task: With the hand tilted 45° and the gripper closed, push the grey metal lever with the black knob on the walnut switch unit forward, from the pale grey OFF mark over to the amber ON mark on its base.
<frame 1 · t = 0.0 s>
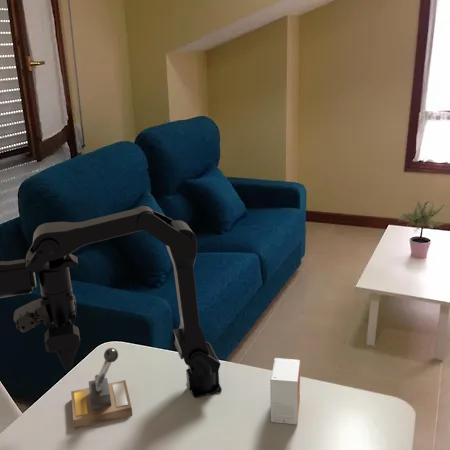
hand: (67, 356, 110), 15 cm above the table, tool pointing down, fingers open, 9 cm apart
small box: (285, 412, 114), on the table
switch unit: (101, 406, 118), on the table
lever: (105, 367, 115), point 10 cm above the table, hinge at -28.0°
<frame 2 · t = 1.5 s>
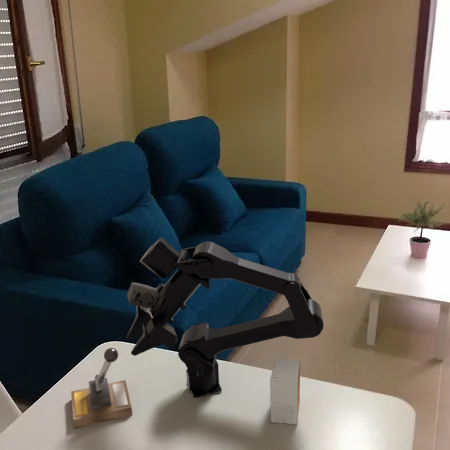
hand: (130, 346, 115), 14 cm above the table, tool tilted 45°, fingers open, 6 cm apart
nothing on the table moved.
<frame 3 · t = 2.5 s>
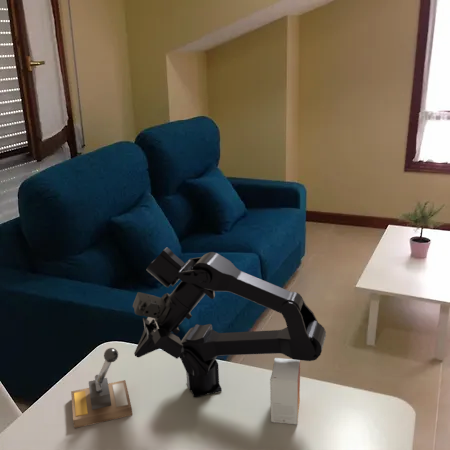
hand: (136, 355, 116), 11 cm above the table, tool tilted 45°, fingers closed
nothing on the table moved.
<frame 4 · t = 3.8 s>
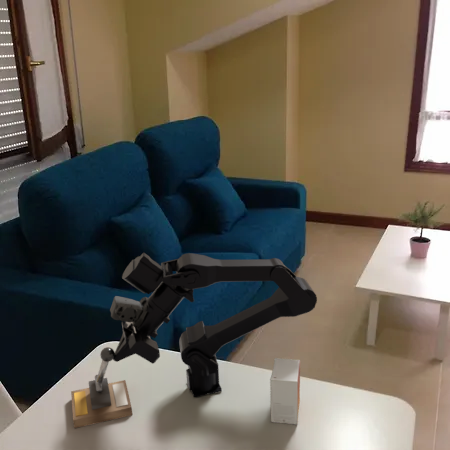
hand: (114, 359, 115), 11 cm above the table, tool tilted 45°, fingers closed, pressing on lever
lever: (103, 367, 115), point 10 cm above the table, hinge at -21.9°, touching gripper
everything else where it was.
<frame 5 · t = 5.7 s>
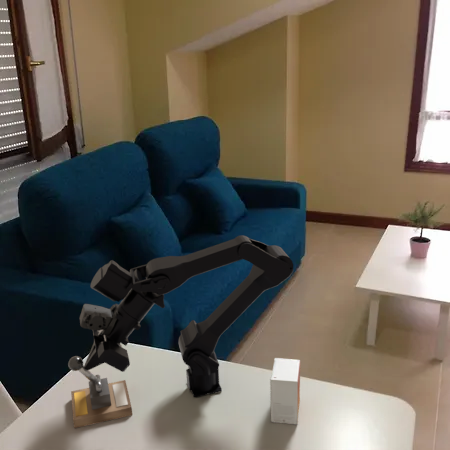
hand: (86, 368, 114), 10 cm above the table, tool tilted 45°, fingers closed, pressing on lever
lever: (85, 372, 114), point 9 cm above the table, hinge at 33.2°, touching gripper
everything else where it was.
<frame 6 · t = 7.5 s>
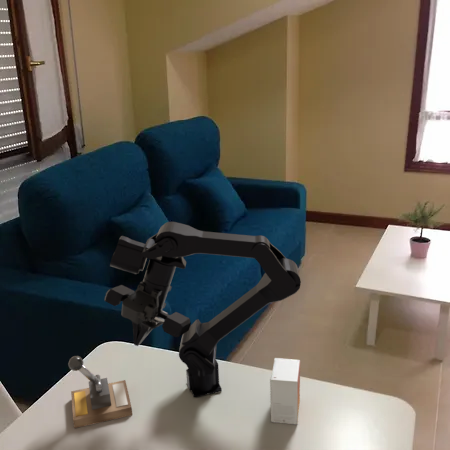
hand: (136, 344, 117), 13 cm above the table, tool tilted 20°, fingers closed
lever: (85, 372, 114), point 9 cm above the table, hinge at 32.9°
everything else where it was.
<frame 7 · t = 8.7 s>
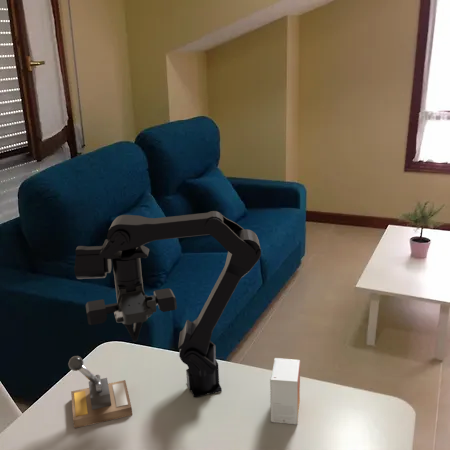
hand: (135, 340, 118), 13 cm above the table, tool pointing down, fingers closed
nothing on the table moved.
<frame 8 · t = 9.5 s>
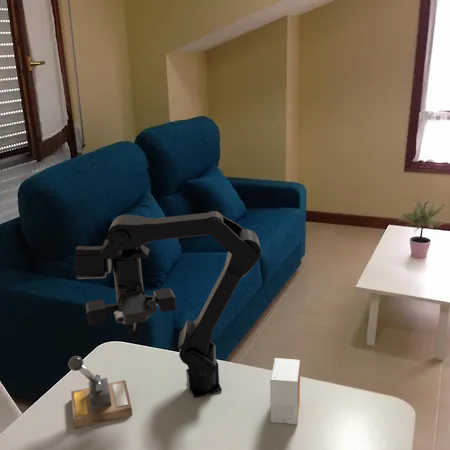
hand: (135, 340, 118), 13 cm above the table, tool pointing down, fingers closed
nothing on the table moved.
at the end: lever at +33° (first picture: -28°); small box moved 0.3 cm from its start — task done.
